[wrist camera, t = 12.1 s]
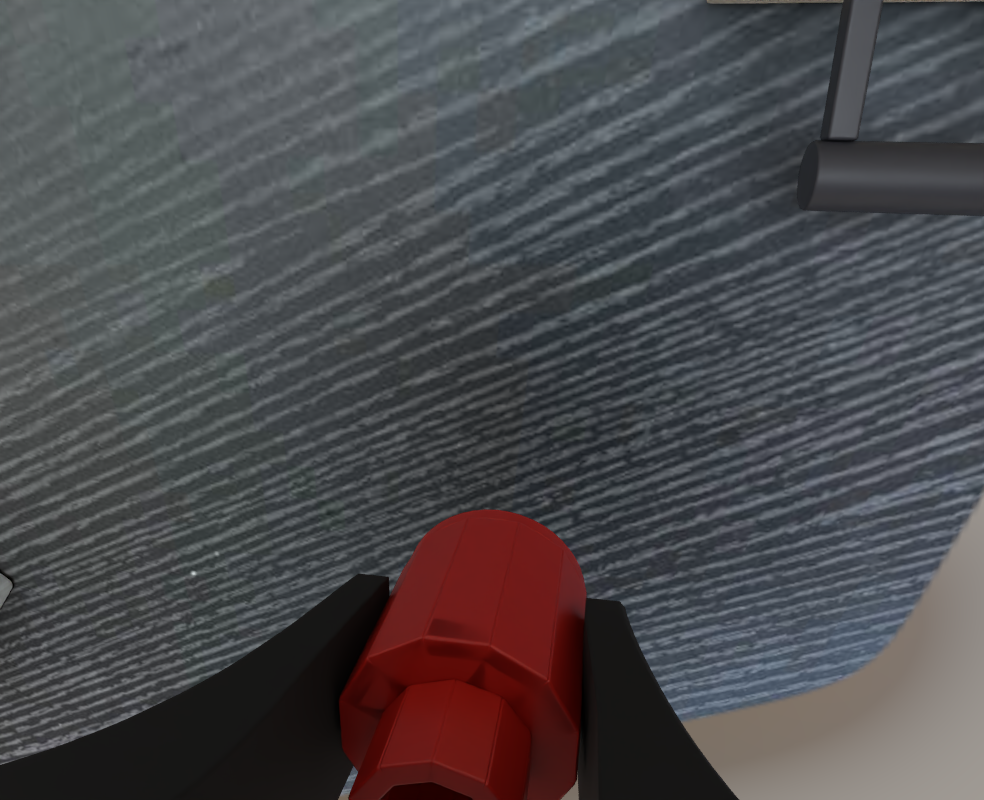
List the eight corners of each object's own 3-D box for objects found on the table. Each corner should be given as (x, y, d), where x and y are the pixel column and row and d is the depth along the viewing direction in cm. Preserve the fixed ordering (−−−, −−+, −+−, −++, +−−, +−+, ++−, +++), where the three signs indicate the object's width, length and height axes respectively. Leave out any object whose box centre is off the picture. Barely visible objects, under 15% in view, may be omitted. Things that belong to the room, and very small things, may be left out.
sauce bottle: (591, 517, 13) (583, 741, 8) (580, 672, 14) (566, 953, 9) (406, 500, 14) (287, 701, 9) (410, 651, 15) (308, 906, 10)
